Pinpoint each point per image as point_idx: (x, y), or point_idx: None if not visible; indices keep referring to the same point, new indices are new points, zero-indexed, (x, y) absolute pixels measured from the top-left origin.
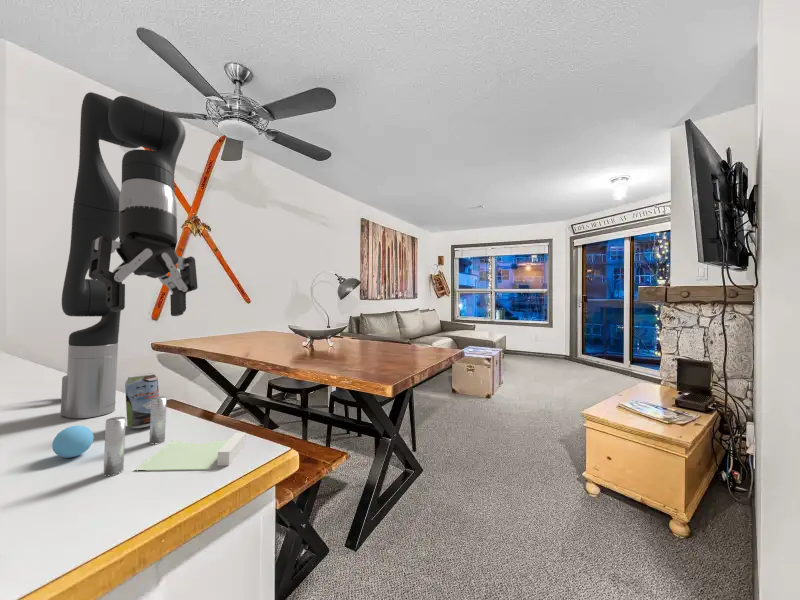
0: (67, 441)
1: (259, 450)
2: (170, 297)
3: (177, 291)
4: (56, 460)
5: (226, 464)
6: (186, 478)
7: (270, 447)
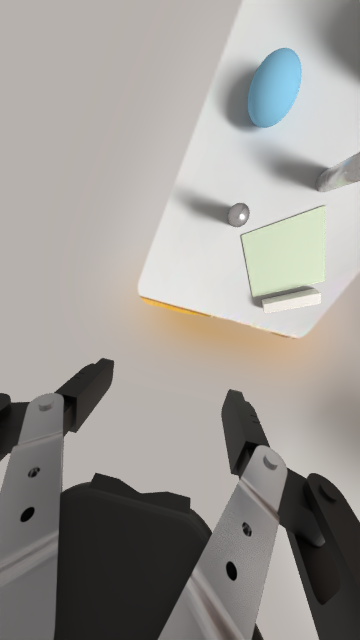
0: (252, 110)
1: (298, 317)
2: (243, 430)
3: (240, 470)
4: None
5: (262, 306)
6: (236, 290)
7: (307, 323)
